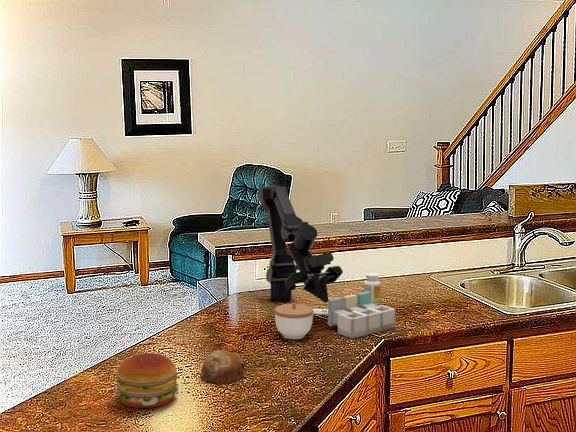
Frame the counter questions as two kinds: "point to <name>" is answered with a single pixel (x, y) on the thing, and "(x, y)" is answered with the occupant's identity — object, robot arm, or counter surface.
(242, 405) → the counter surface
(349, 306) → the button tan
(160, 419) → the counter surface
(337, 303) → the drawer slate
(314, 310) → the card
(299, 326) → the lidded jar
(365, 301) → the button teal
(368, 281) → the supplement bottle
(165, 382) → the burger
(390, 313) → the gray divided box
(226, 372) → the bread roll
